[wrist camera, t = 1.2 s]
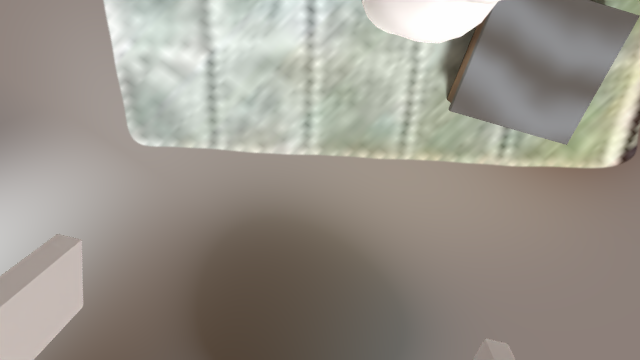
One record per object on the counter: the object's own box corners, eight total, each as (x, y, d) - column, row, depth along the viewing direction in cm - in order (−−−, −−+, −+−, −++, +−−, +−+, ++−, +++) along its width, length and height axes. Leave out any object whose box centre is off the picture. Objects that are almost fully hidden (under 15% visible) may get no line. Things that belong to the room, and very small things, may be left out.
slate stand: (490, -21, 39) (506, -25, 35) (609, 16, 39) (639, 15, 35) (441, 102, 44) (450, 110, 40) (546, 133, 44) (566, 144, 40)
